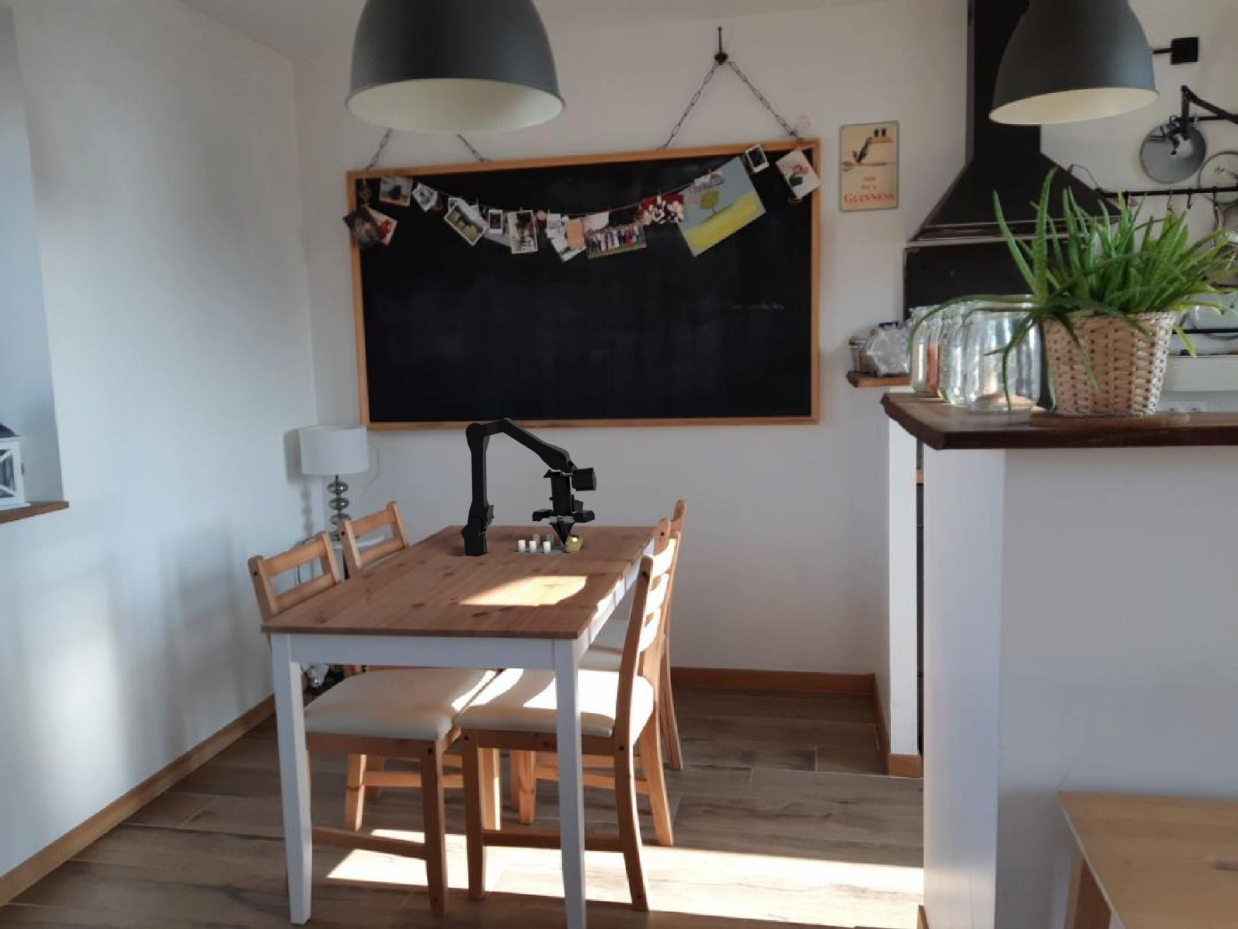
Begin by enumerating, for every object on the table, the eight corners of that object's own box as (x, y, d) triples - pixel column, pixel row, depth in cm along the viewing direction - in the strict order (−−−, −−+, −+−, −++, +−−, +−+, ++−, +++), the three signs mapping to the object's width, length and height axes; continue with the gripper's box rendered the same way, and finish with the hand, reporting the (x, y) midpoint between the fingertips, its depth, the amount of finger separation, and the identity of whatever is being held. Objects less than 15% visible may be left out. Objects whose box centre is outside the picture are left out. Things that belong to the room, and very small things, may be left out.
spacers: (548, 554, 274) (547, 542, 274) (514, 552, 280) (514, 540, 280) (569, 547, 284) (568, 535, 283) (536, 545, 290) (535, 533, 290)
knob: (573, 555, 274) (578, 541, 273) (560, 547, 276) (565, 534, 274) (581, 551, 278) (586, 538, 277) (569, 544, 280) (573, 530, 278)
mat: (553, 556, 273) (553, 555, 273) (513, 554, 280) (513, 552, 280) (575, 548, 283) (575, 547, 283) (537, 545, 290) (537, 544, 290)
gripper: (602, 488, 278) (606, 540, 280) (550, 487, 288) (554, 538, 290) (582, 494, 269) (586, 548, 271) (528, 493, 278) (533, 545, 280)
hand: (565, 544), depth 278 cm, fingers closed
